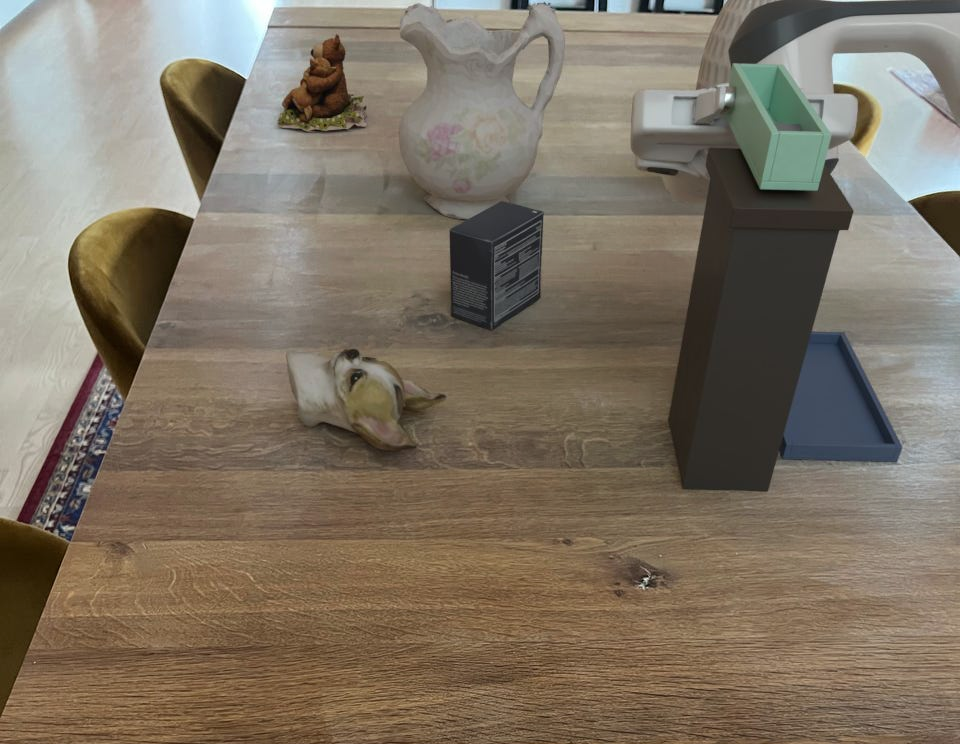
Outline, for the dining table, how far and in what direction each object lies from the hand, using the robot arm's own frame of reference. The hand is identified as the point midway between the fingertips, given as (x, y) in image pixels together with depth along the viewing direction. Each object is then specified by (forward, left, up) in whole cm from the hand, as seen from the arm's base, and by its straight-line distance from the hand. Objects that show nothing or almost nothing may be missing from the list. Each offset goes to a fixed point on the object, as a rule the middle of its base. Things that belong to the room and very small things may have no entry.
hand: (761, 97), depth 82 cm
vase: (-12, -62, -29) cm, 69 cm away
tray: (-12, -1, -29) cm, 31 cm away
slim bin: (0, +5, -2) cm, 6 cm away
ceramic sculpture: (+35, +7, -29) cm, 46 cm away
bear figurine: (+52, -87, -29) cm, 105 cm away
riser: (0, +10, -29) cm, 31 cm away
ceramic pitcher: (+25, -52, -29) cm, 65 cm away
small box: (+22, -20, -29) cm, 42 cm away
